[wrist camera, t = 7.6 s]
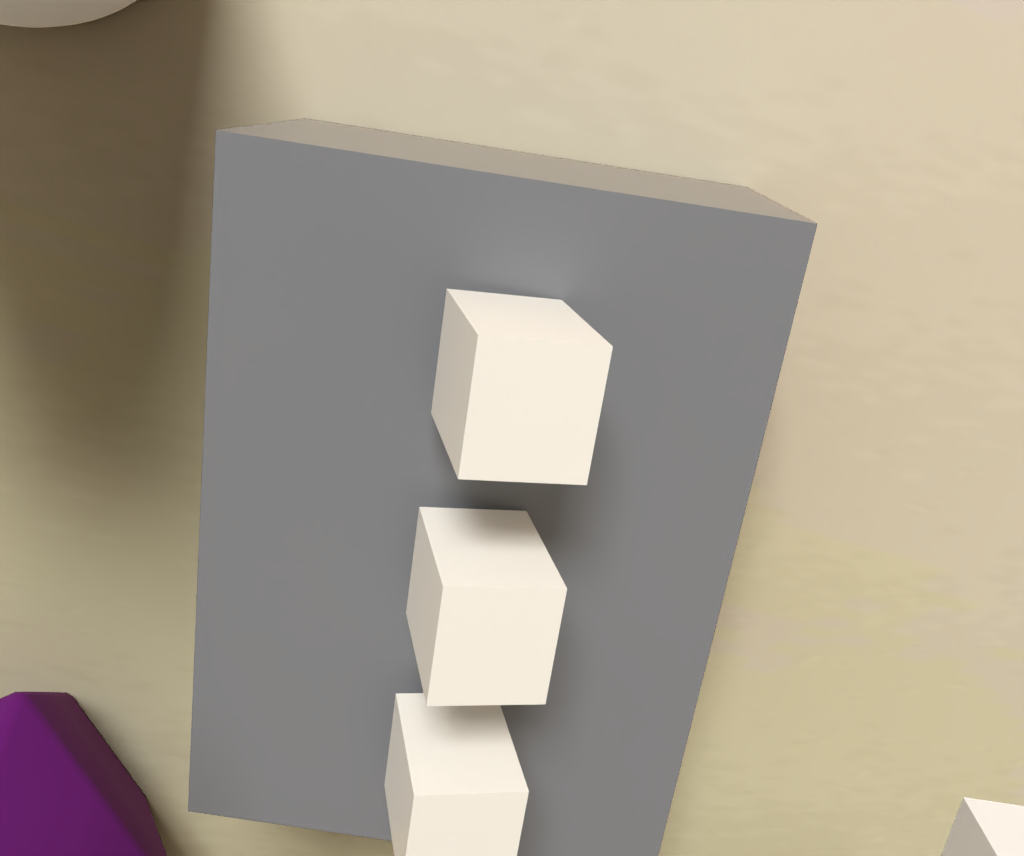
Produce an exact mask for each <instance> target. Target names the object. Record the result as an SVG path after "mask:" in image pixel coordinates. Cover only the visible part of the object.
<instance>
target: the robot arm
mask: <svg viewBox="0 0 1024 856" xmlns="http://www.w3.org/2000/svg"><path fill="white" fill-rule="evenodd" d="M941 856H1024V806H1020V805H1013V804H1006V803H999V802H993V801H986V800H979V799H973V798H966V797H963V799H962V802H961V805H960V807H959V810H958V812H957V815H956V818H955V820H954V823H953V826H952V828H951V831H950V834H949V836H948V839H947V842H946V844H945V847H944V849H943V852H942V855H941Z"/></svg>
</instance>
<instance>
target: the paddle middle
mask: <svg viewBox="0 0 1024 856" xmlns="http://www.w3.org/2000/svg"><path fill="white" fill-rule="evenodd" d="M566 593H567V587H566V585H565V583H564V582H563V580H562V578H561V576H560V574H559V572H558V570H557V568H556V566H555V564H554V562H553V561H552V559H551V557H550V555H549V553H548V551H547V549H546V547H545V545H544V543H543V542H542V540H541V538H540V536H539V534H538V532H537V530H536V528H535V526H534V524H533V523H532V521H531V519H530V517H529V515H528V513H527V511H517V510H491V509H465V508H439V507H419V513H418V521H417V529H416V537H415V545H414V553H413V561H412V569H411V577H410V584H409V592H408V600H407V608H406V615H407V620H408V625H409V629H410V634H411V638H412V643H413V647H414V652H415V656H416V661H417V665H418V670H419V675H420V679H421V684H422V688H423V693H424V697H425V702H426V706H474V705H540V704H546V699H547V693H548V688H549V683H550V677H551V672H552V667H553V661H554V656H555V651H556V646H557V640H558V635H559V630H560V624H561V619H562V614H563V609H564V603H565V598H566Z"/></svg>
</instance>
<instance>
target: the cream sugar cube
mask: <svg viewBox="0 0 1024 856" xmlns="http://www.w3.org/2000/svg"><path fill="white" fill-rule="evenodd" d="M612 349H613V346H612V345H611V344H610V343H608V342H607V341H606V340H605V339H604V338H603V337H602V336H601V335H600V334H599V333H598V332H596V331H595V330H594V329H593V328H592V327H591V326H590V325H589V324H588V323H587V322H585V321H584V320H583V319H582V318H581V317H580V316H579V315H578V314H577V313H576V312H575V311H573V310H572V309H571V308H570V307H569V306H568V305H567V304H566V303H565V302H564V301H562V300H559V299H549V298H538V297H528V296H518V295H508V294H497V293H487V292H477V291H466V290H456V289H447V290H446V298H445V306H444V314H443V322H442V330H441V338H440V346H439V354H438V362H437V369H436V377H435V385H434V393H433V401H432V409H431V414H432V417H433V419H434V421H435V424H436V426H437V429H438V431H439V434H440V436H441V439H442V441H443V444H444V446H445V448H446V451H447V453H448V456H449V458H450V461H451V463H452V466H453V468H454V471H455V473H456V475H457V478H458V479H463V480H484V481H506V482H528V483H549V484H571V485H587V481H588V476H589V471H590V466H591V460H592V455H593V450H594V444H595V439H596V434H597V428H598V423H599V418H600V413H601V407H602V402H603V397H604V391H605V386H606V381H607V376H608V370H609V365H610V360H611V354H612Z"/></svg>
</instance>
